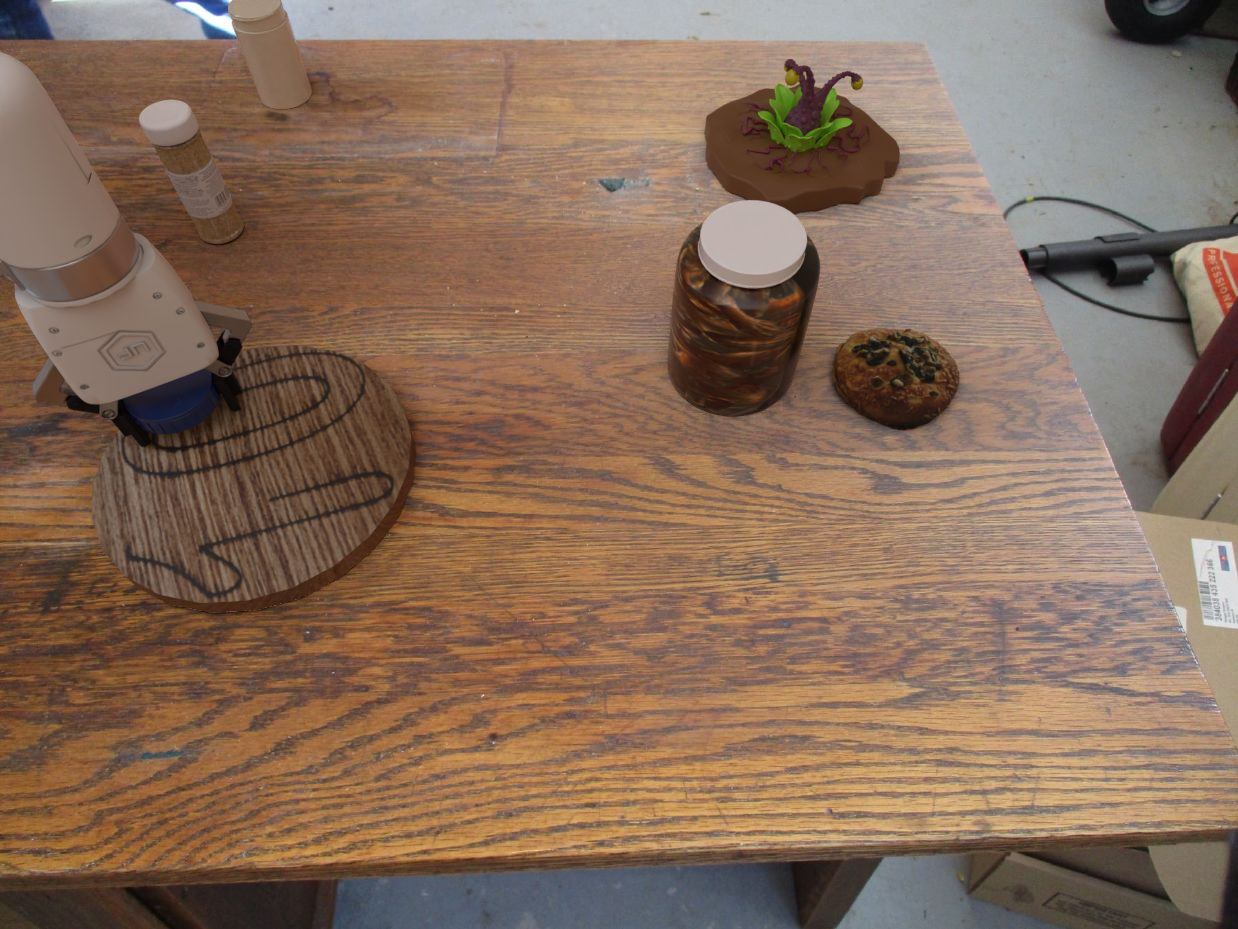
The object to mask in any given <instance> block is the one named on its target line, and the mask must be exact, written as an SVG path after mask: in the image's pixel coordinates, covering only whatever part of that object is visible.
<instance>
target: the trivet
mask: <svg viewBox="0 0 1238 929" xmlns="http://www.w3.org/2000/svg"><path fill="white" fill-rule="evenodd" d="M231 368H232V371H233V373H234V375H235V377H236V378H237V380H238V382H239V384H240V386H241V389H242V392H243V393H241V394H238V395H236V397H237V400H238V402H239V405H240V408H241V409H240V410H238V411H234V410H233V411H231V409H230V408H229V406H228V404H227V403H226V401H225V400H224V398H223V396H222V395H221V394H220V400H219V402H218V404H217V406H216V408H215V409H214V411H213V412H212V413H211V414H210V416H208V417H207V418H206V419H205V420H204V421H202V422H201V423H200V424H198V425H196V426H195V427H193V428H190V429H188V430H185V431H182V432H179V433H173V434H157V433H155V434H154V433H152V432H149V431H147V432H148V436H149V439H150V442H149V443H148V445H146V446H144V447H141V446H140V445H139V444H138V442H137V441H136V440H135V439H134V437H133V436H132V435H129V436H127V437H125V436H124V435H123V434H122V433H121V431H120V430H119V429H118V430H117V432H116V433H115V435H114V436H113V437H112V439H111V440H110V442H109V443H108V445H107V446H106V448H105V449H104V451H103V453H102V456H101V459H100V461H99V465H98V468H97V470H96V474H95V476H94V478H93V482H92V488H91V521H92V522H91V523H92V524H93V527H94V530H95V533H96V536H97V539H98V541H99V544H100V547H101V549H102V552H104V554H105V555H106V556H107V557H108V559H110V560H111V562H112V563H113V564H114V565H115V566H116V567H117V568H118V569H119V571H120V572H121V573H122V574H123V575H124V576H125V577H126V579H128V580H129V581H130V582H131V583H132V584H133V585H134V586H136V588H138V589H139V588H140V589H139V590H141V589H142V590H141V591H143V592H145V591H146V592H145V593H146V594H148V595H150V594H151V595H150V596H152V595H153V597H154V596H155V597H154V598H156V597H157V598H156V599H158V598H159V599H158V600H159V601H161V600H163V601H164V602H163V601H162V602H163V603H165V602H166V603H165V604H167V603H168V604H167V605H169V604H171V605H175V606H181V607H186V608H192V609H196V610H201V611H206V612H211V613H212V612H226V611H228V612H229V611H245V610H246V611H249V610H251V611H254V610H259V609H263V608H265V607H270V606H273V607H275V606H274V605H277V606H280V605H281V604H280V603H284V604H286V603H285V602H287V603H289V602H288V601H291V602H293V601H292V600H294V601H296V600H295V599H298V600H300V599H299V598H301V597H303V596H305V595H307V594H309V593H311V594H312V593H314V592H316V591H318V590H320V589H321V587H322V586H324V585H326V584H327V585H329V584H331V583H333V582H335V581H337V580H339V579H341V578H343V577H344V576H345V575H346V574H347V573H348V572H349V571H351V570H352V569H353V568H354V567H355V566H356V565H358V564H359V563H360V562H361V561H362V560H363V559H362V558H364V557H365V556H366V555H367V554H368V553H369V552H371V551H372V550H373V549H374V550H376V548H377V547H378V546H379V544H380V543H381V542H382V541H383V539H384V538H385V536H386V535H387V533H389V531H390V530H391V529H392V527H393V525H394V524H395V523H396V522H397V520H398V519H399V517H400V516H401V513H402V511H403V508H404V506H405V503H406V501H407V498H408V496H409V494H410V491H411V489H412V486H413V484H414V477H415V476H414V475H415V464H416V454H417V450H416V449H417V448H416V445H415V442H414V441H415V440H414V437H413V433H412V429H411V425H410V421H409V417H408V415H407V412H406V409H405V407H404V405H403V403H402V401H401V400H400V399H399V397H398V395H397V394H396V393H395V391H394V390H393V388H392V387H391V385H390V384H389V382H388V381H386V380H385V378H383V377H382V376H380V375H379V374H378V373H377V372H376V371H374V370H373V369H372V368H370V367H369V366H368V365H366V364H365V363H364V362H361V361H359V360H357V359H354V358H353V357H349V356H347V355H345V354H343V353H340V352H337V351H335V350H332V349H331V350H330V349H325V348H318V347H312V346H306V345H302V344H301V345H300V344H296V345H295V344H294V345H274V346H273V345H271V346H259V347H254V348H252V349H246V350H241V351H240V353H239V355H238V356H237V358H236V360H235V361H234V363H233V365H232V366H231ZM383 537H384V538H383ZM382 538H383V539H382ZM380 541H381V542H380ZM379 542H380V543H379ZM377 545H378V546H377ZM376 546H377V547H376ZM374 550H373V551H374ZM373 551H372V552H373ZM372 552H371V553H372ZM369 554H370V553H369ZM369 554H368V555H369ZM368 555H367V556H368ZM367 556H366V557H367ZM366 557H365V558H366ZM365 558H364V559H365ZM361 559H362V560H361ZM360 560H361V561H360ZM359 561H360V562H359ZM358 562H359V563H358ZM357 563H358V564H357ZM355 564H356V565H355ZM354 565H355V566H354ZM353 566H354V567H353ZM352 567H353V568H352ZM351 568H352V569H351ZM347 571H348V572H347ZM346 572H347V573H346ZM345 573H346V574H345ZM344 574H345V575H344ZM340 577H341V578H340ZM338 578H339V579H338ZM336 579H337V580H336ZM334 580H335V581H334ZM332 581H333V582H332ZM330 582H331V583H330ZM328 583H329V584H328ZM327 585H326V586H327ZM324 587H325V586H324ZM322 588H323V587H322ZM309 595H310V594H309ZM307 596H308V595H307ZM305 597H306V596H305ZM303 598H304V597H303ZM301 599H302V598H301ZM279 604H280V605H279ZM171 605H170V606H171ZM175 606H174V607H175ZM270 608H271V607H270ZM263 610H264V609H263ZM259 611H260V610H259ZM254 612H255V611H254Z"/></svg>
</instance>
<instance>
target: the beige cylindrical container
mask: <svg viewBox="0 0 1238 929" xmlns="http://www.w3.org/2000/svg"><path fill="white" fill-rule="evenodd" d="M227 13H228V16H229V17H230V19H231V26H232V30H233V31H234V34H235V37H236V39H237V42H238V45H239V47H240V49H241V53H242V55H243V58H244V60H245V63H246V65H247V68H248V71H249V73H250V76H251V78H252V81H253V83H254V86H255V89H256V92H257V94H258V97H259V99H260V102H261V103H262V104H263V105H264V106H265V107H267V108H269V109H272V110H289V109H294V108H297V107H300V106H302V105H304V104H305V103H306V102H307V101H309V100H310V98H311V97H312V95H313V89H312V85H311V82H310V80H309V76H308V72H307V70H306V67H305V64H304V61H303V57H302V55H301V52H300V48H299V45H298V42H297V39H296V36H295V33H294V29H293V27H292V24H291V23H292V22H291V21H290V18H289V14H288V13H287V11H286V10H285V8H284V4H283V2H282V0H230V2H229V3H228V5H227Z"/></svg>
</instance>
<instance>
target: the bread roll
mask: <svg viewBox="0 0 1238 929" xmlns="http://www.w3.org/2000/svg"><path fill="white" fill-rule="evenodd" d="M832 367H833V369H832V374H831V378H832V381H833V383H834V385H835V389H836V392H838V394H839V396H841V398H842V399H843V401H844V402H845V403H846V404H848V405H849V406H851V407H852V408H853V409H854V410H856V411H857V413H859V414H861V415H863V416H864V417H866V418H868V419H870V420H871V421H874V422H877V423H879V424H881V425H883V426H886V427H887V428H891V429H892V430H898V431H900V430H902V431H906V430H914V429H916V428H919V427H921V426H924V425H927V424H929V423H930V422H932V421H933V420H935V419H937V417H939V416H940V415H941V414H942V413H943V412H944V411H945V410H946V409H947V408H948V406H949V405H950V404H951V403H952V401H953V400H954V398H955V396H956V394H957V391H958V389H959V385H960V379H961V377H960V371H959V366H958V364H957V361H956V360H955V358H953V356H952V355H951V353H950V352H949V351H948V350H947V348H945V347H944V346H942V345H941V344H940V343H939V341H937V340H935V339H933V338H932V337H931V336H929V335H927V334H926V333H924V332H919V331H917V330H914V329H912V328H909V327H908V328H906V329H898V328H886V327H875V328H871V329H866V330H863V331H858V332H855V333H852V335H851V336H849V337H848V338H847V339H846V341H845V342H844V341H843V342H841V343H840V345H839V346H838V347H837V352H836V354H835V357H834V359H833V361H832Z"/></svg>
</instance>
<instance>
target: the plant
mask: <svg viewBox="0 0 1238 929" xmlns="http://www.w3.org/2000/svg"><path fill="white" fill-rule="evenodd" d="M783 70H784V71H785V72H786V73H785V76H784V80H785V83H786V85H783V84H782V83H779V82H778V83H777V84H776V85H775V86H774V88H767V87H765V88H762V89H759V90H756V91H755V92H753V93H751V94H749V95H746V96H744V97H740V98H738V99H734V100H732V101H729V102H727V103H725V104H723V105H721V106H719V107H718V108H716V109H715V110H713V111H712V112H710V113H709V114H707V116H706V118H705V125H704V138H705V142H706V147H705V161H706V163H707V164H706V165H707V166H708V168H709V170H710V171H711V173H713V175H714V176H715V178H717V180H718V181H719V183H720V184H721V186H722V187H723V188H724V189H725V190H726V191H727V192H729V193H732V194H734V195H738V196H740V197H743V198H744V199H745V200H759V201H765V202H770V203H773V204H776V205H779V206H781V207H783V208H785V209H787V210H788V211H790V212H791V213H793V214H794V215H795V214H798V213H802V212H816V211H821V210H824V209H827V208H831V207H833V206H836V205H839V204H858V205H859V204H860V203H861V201H862V200H863V198H866V197H869V196H870V197H871V196H877V195H878V194H880V192H881V190H882V186H883V183H884V180H885V178H889V177H893V176H894V175H895V174H896V172H897V170H898V167H899V164H900V160H901V151H900V147H899V144H898V142H897V140H896V139H895V138H894V137H893V136H892V135H890V134H889V133H888V132H887V131H886V130H885V129H884V128H883V127H881V125H879V124H878V123H877V122H876V121H875V120H874V119H873V118H872V116H870V115H869V114H868V113H867V112H866V111H864V110H863V109H861V108H860V107H858V106H856V105H855V104H853V103H852V102H851V101H850V99H848V98H847V97H846V96H843V95H839V94H838V93H837V89H836V88H835V87H834V86H835V85H836V84H837V83H838V82H839V81H840V80H842V79H845V78H846V77H850V86H851V88H852V89H853V90H854V91H859V90H861V89H862V88H863V86H864V79H863V77H862V76H861V75H860V74H858V73H857V72H853V71H851V70H846V71H842V72H840V73H837V74H836V75H835V76H832V77H831V79H828V80H827V83H824V84H823V86H822V87H817V86H815V84H816V79H815V78H814V77H815V75H814V72H813V71H812V69H811V66H809V65H805V64H804V65H799V64H798V63H797V61H796V60H794V59H793V58H788V59H786V60H785V61H784V64H783ZM804 73H805V74H804ZM788 86H791V87H788Z"/></svg>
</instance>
